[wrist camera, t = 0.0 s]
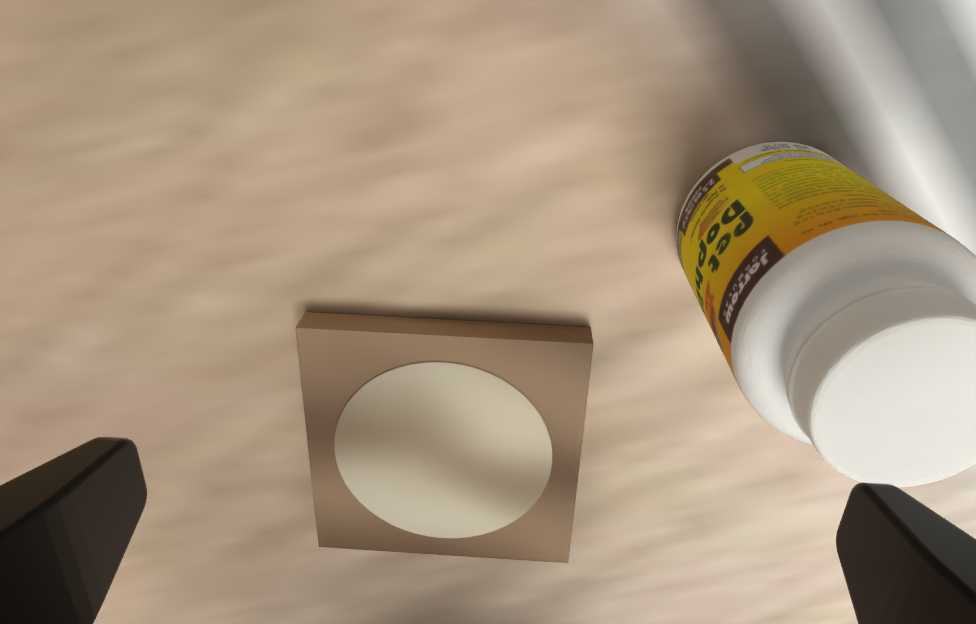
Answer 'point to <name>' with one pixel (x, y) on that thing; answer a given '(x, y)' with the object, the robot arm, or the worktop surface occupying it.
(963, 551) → the robot arm
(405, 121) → the worktop surface
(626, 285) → the worktop surface
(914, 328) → the supplement bottle
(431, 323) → the walnut board
